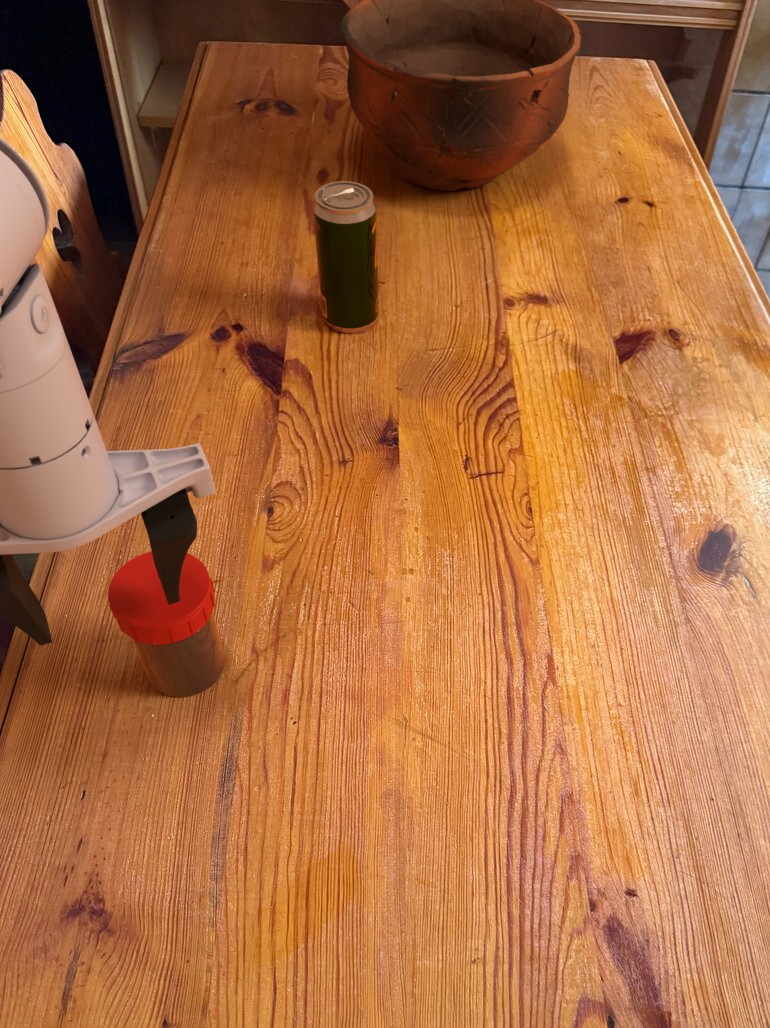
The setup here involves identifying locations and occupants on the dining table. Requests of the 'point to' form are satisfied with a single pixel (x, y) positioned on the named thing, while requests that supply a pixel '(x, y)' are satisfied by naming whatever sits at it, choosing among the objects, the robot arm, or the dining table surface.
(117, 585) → the jar lid
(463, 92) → the bowl
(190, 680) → the jar
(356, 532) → the dining table surface
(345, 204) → the beer can
